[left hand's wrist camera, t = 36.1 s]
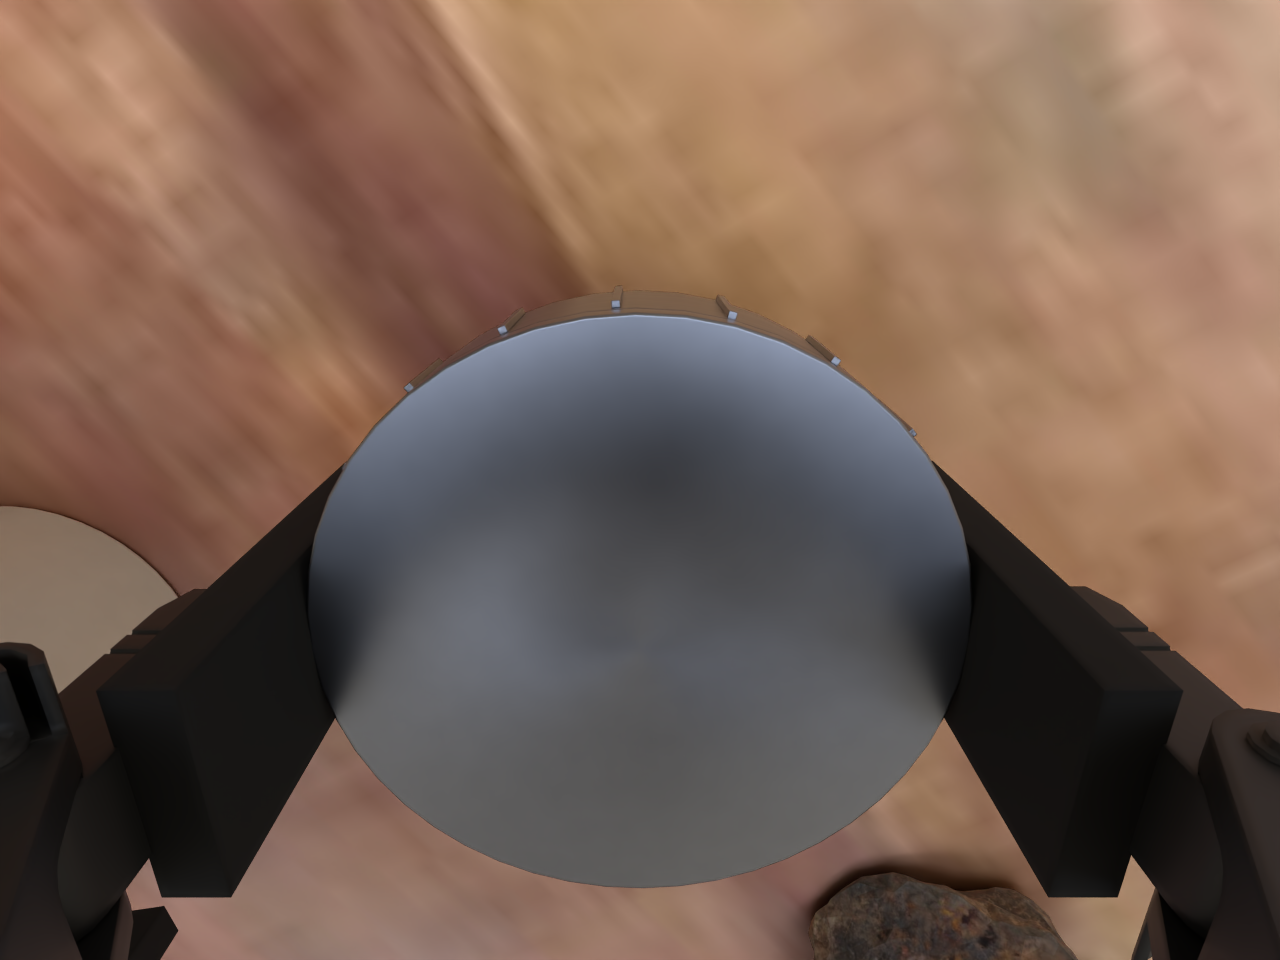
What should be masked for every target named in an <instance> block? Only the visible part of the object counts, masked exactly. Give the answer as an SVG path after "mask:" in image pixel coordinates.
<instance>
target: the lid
mask: <svg viewBox="0 0 1280 960" xmlns="http://www.w3.org/2000/svg"><path fill="white" fill-rule="evenodd" d="M840 362H841V360H840V359H839V358H838V357H837V356H835V355H834V354H833V353H832V352H831V351H829V350H828V349H827V348H826V347H825V346H823V345H822V344H821V343H820V342H819V341H817V340H816V339H815V338H814V337H812V336H811V335H808V337H807V338H806V340H805V339H804V338H802V337H801V336H799V335H798V334H797V333H795V332H794V331H792V330H790V329H788V328H786V327H784V326H782V325H780V324H778V323H776V322H774V321H772V320H770V319H768V318H766V317H764V316H762V315H760V314H757V313H754V312H751V311H749V310H746V309H743V308H740V307H737V306H734V305H731V304H730V303H729V302H728V300H727V299H726V298H725V297H724V296H720V295H717V298H716V300H714V299H709V298H703V297H698V296H693V295H688V294H683V293H676V292H658V291H640V290H634V291H623V286H615V288H614V292H608V293H596V294H590V295H586V296H581V297H576V298H572V299H567V300H562V301H558V302H553V303H551V304H548V305H545V306H542V307H540V308H537V309H534V310H531V311H529V312H526V313H525V311H524V309H523V308H520V309H518V310H516V311H515V312H514V313H513V314H512V315H511V316H510V317H508V318H507V319H506V320H505V321H504V322H503V323H502V324H500V325H498V326H496V327H494V328H492V329H491V330H489V331H487V332H485V333H483V334H481V335H479V336H478V337H477V338H475V339H474V340H472V341H471V342H470V343H468V344H467V345H466V346H464V347H463V348H461V349H460V350H459V351H457V352H456V353H455V354H453V355H452V356H450V357H449V358H448V359H447V360H445V361H444V362H443V361H442V360H441V359H440V358H439V359H437V360H436V361H435V362H434V363H433V364H431V365H430V366H429V367H428V368H426V369H425V370H424V371H423V372H422V373H420V374H419V375H418V376H417V377H416V378H414V379H413V380H412V381H411V382H409V383H408V384H407V385H406V386H405V387H404V389H405V390H406V391H407V392H408V393H407V394H406V395H405V396H404V397H403V398H402V399H401V400H400V401H399V402H398V403H397V404H396V405H395V406H394V407H393V408H392V409H391V410H390V411H389V412H388V413H386V414H385V415H384V416H383V417H382V418H381V419H380V420H379V421H378V422H377V423H376V424H375V425H374V427H373V428H372V429H371V431H370V432H369V433H368V434H367V436H366V437H365V438H364V440H363V441H362V442H361V444H360V445H359V446H358V448H357V449H356V450H355V452H354V453H353V454H352V456H351V457H350V458H349V460H348V461H347V462H345V464H344V465H343V467H342V470H343V471H342V472H341V474H340V476H339V478H338V480H337V482H336V484H335V485H334V487H333V489H332V491H331V493H330V495H329V496H328V499H327V502H326V505H325V508H324V511H323V513H322V516H321V519H320V522H319V525H318V528H317V530H316V533H315V537H314V543H313V548H312V553H311V559H310V564H309V570H308V584H307V619H308V626H309V632H310V638H311V644H312V649H313V654H314V659H315V664H316V668H317V672H318V676H319V679H320V683H321V686H322V688H323V691H324V693H325V695H326V697H327V700H328V702H329V704H330V707H331V709H332V711H333V713H334V716H335V718H336V720H337V722H338V723H339V725H340V726H341V728H342V730H343V731H344V733H345V735H346V736H347V738H348V739H349V741H350V743H351V744H352V746H353V748H354V749H355V751H356V752H357V753H358V755H359V756H360V757H361V758H362V759H363V761H364V762H365V763H366V764H367V766H368V767H369V768H370V769H371V771H372V772H373V773H374V774H375V776H376V777H377V778H378V779H379V780H380V781H381V782H382V783H383V784H384V785H385V786H386V787H387V788H388V789H389V790H390V791H391V792H392V793H393V794H394V795H395V796H396V797H397V798H398V799H399V800H401V801H402V802H403V803H404V804H405V805H406V806H407V807H409V808H410V809H411V810H413V811H414V812H415V813H416V814H418V815H419V816H420V817H422V818H423V819H424V820H426V821H427V822H428V823H430V824H431V825H432V826H433V827H435V828H437V829H438V830H440V831H442V832H443V833H445V834H447V835H448V836H450V837H452V838H453V839H455V840H457V841H458V842H460V843H462V844H463V845H465V846H467V847H469V848H472V849H474V850H476V851H478V852H480V853H482V854H484V855H487V856H489V857H491V858H493V859H495V860H497V861H500V862H503V863H506V864H508V865H511V866H514V867H517V868H520V869H523V870H526V871H529V872H532V873H535V874H539V875H543V876H548V877H552V878H556V879H560V880H564V881H569V882H576V883H583V884H590V885H598V886H605V887H628V888H654V887H671V886H683V885H690V884H696V883H703V882H709V881H716V880H720V879H724V878H728V877H732V876H736V875H739V874H743V873H747V872H751V871H754V870H757V869H760V868H762V867H765V866H768V865H771V864H773V863H776V862H779V861H782V860H784V859H787V858H789V857H791V856H793V855H795V854H797V853H799V852H801V851H803V850H805V849H808V848H810V847H812V846H814V845H816V844H818V843H820V842H822V841H823V840H825V839H826V838H828V837H829V836H831V835H833V834H834V833H836V832H837V831H839V830H841V829H842V828H844V827H845V826H847V825H849V824H850V823H852V822H853V821H854V820H855V819H857V818H858V817H859V816H860V815H862V814H863V813H864V812H865V811H867V810H868V809H869V808H870V807H872V806H873V805H874V804H875V803H877V802H878V801H879V800H880V799H881V798H882V797H883V796H884V795H885V794H886V793H887V792H888V791H889V790H890V789H891V788H892V787H893V786H894V785H895V784H896V783H897V782H898V781H899V780H900V779H901V778H902V777H903V776H904V775H905V774H906V773H907V772H908V770H909V769H910V768H911V766H912V765H913V764H914V762H915V761H916V760H917V759H918V757H919V756H920V755H921V753H922V752H923V751H924V749H925V748H926V747H927V746H928V744H929V742H930V741H931V739H932V737H933V735H934V734H935V732H936V730H937V729H938V727H939V725H940V723H941V722H942V720H943V718H944V717H945V715H946V713H947V710H948V708H949V706H950V703H951V701H952V698H953V696H954V693H955V691H956V689H957V686H958V684H959V681H960V678H961V674H962V670H963V666H964V661H965V656H966V651H967V646H968V640H969V635H970V629H971V621H972V610H973V597H972V579H971V565H970V560H969V556H968V551H967V546H966V542H965V537H964V532H963V528H962V525H961V523H960V520H959V517H958V515H957V512H956V510H955V507H954V504H953V502H952V499H951V497H950V494H949V491H948V489H947V487H946V486H945V484H944V482H943V481H942V479H941V477H940V475H939V474H938V472H937V470H936V468H935V467H934V465H933V463H932V461H931V460H930V458H929V456H928V454H927V453H926V452H925V450H924V449H923V448H922V447H921V445H920V444H919V443H918V442H917V440H916V439H915V438H914V436H916V435H917V434H916V432H915V431H914V430H913V428H911V427H910V426H909V425H908V424H907V423H906V422H905V421H903V420H902V419H901V418H900V417H899V416H898V415H896V414H895V413H894V412H893V411H892V410H891V409H889V408H888V407H887V406H886V405H885V404H884V403H882V402H881V401H880V400H879V399H877V398H876V397H875V396H874V395H873V394H872V393H871V392H870V391H868V390H867V389H866V388H865V387H864V386H863V385H862V384H861V383H859V382H858V381H857V380H856V379H855V378H854V377H852V376H851V375H850V374H849V373H848V372H847V371H845V370H844V369H843V368H842V367H841V366H840V365H838V364H839V363H840Z"/></svg>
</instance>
